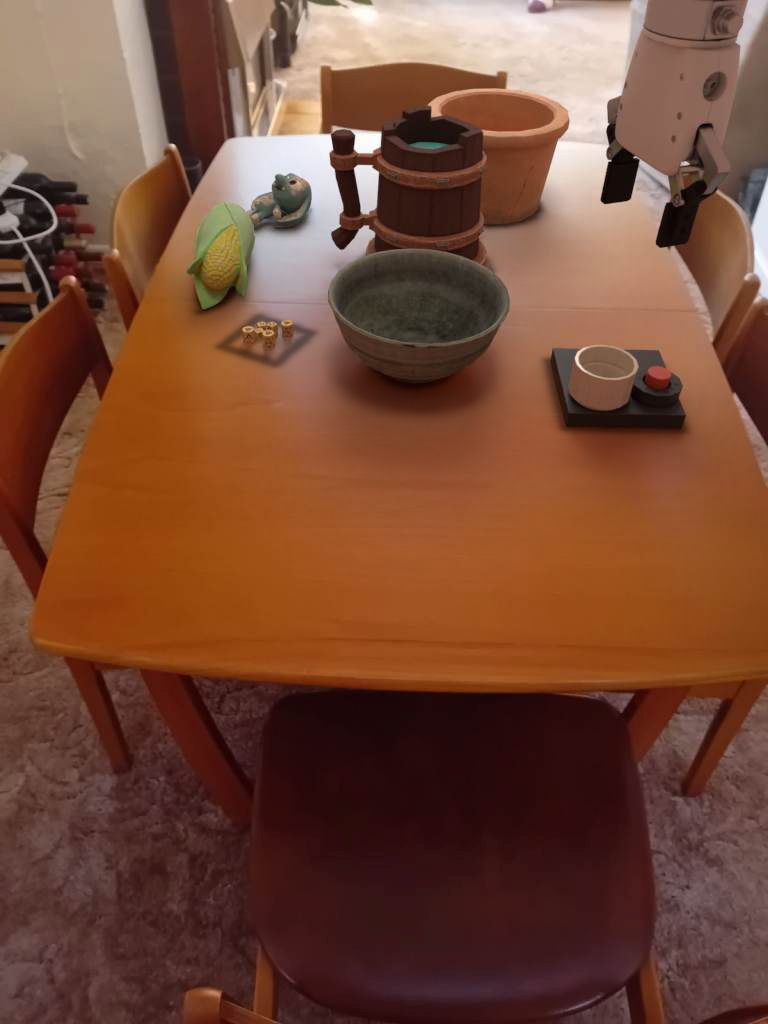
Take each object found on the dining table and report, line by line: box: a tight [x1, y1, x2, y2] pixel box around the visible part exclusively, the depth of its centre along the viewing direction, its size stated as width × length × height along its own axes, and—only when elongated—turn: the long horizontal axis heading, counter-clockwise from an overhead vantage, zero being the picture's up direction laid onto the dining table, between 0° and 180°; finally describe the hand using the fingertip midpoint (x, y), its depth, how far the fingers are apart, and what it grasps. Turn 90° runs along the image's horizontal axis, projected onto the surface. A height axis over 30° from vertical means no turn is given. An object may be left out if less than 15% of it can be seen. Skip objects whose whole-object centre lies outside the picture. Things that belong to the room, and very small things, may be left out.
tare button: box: [645, 366, 672, 390], centre depth 89 cm, size 3×3×2 cm
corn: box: [186, 201, 256, 311], centre depth 110 cm, size 8×8×20 cm
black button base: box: [549, 347, 687, 430], centre depth 92 cm, size 13×13×4 cm
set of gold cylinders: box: [241, 319, 295, 350], centre depth 100 cm, size 5×5×2 cm
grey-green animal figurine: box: [246, 172, 313, 228], centre depth 123 cm, size 11×7×12 cm
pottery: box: [427, 87, 571, 226], centre depth 125 cm, size 22×22×14 cm
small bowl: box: [568, 344, 639, 411], centre depth 88 cm, size 7×7×4 cm
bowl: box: [327, 249, 511, 384], centre depth 93 cm, size 21×21×10 cm
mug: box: [328, 105, 490, 269], centre depth 107 cm, size 18×23×20 cm
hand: (641, 222), depth 75 cm, fingers open, 9 cm apart
